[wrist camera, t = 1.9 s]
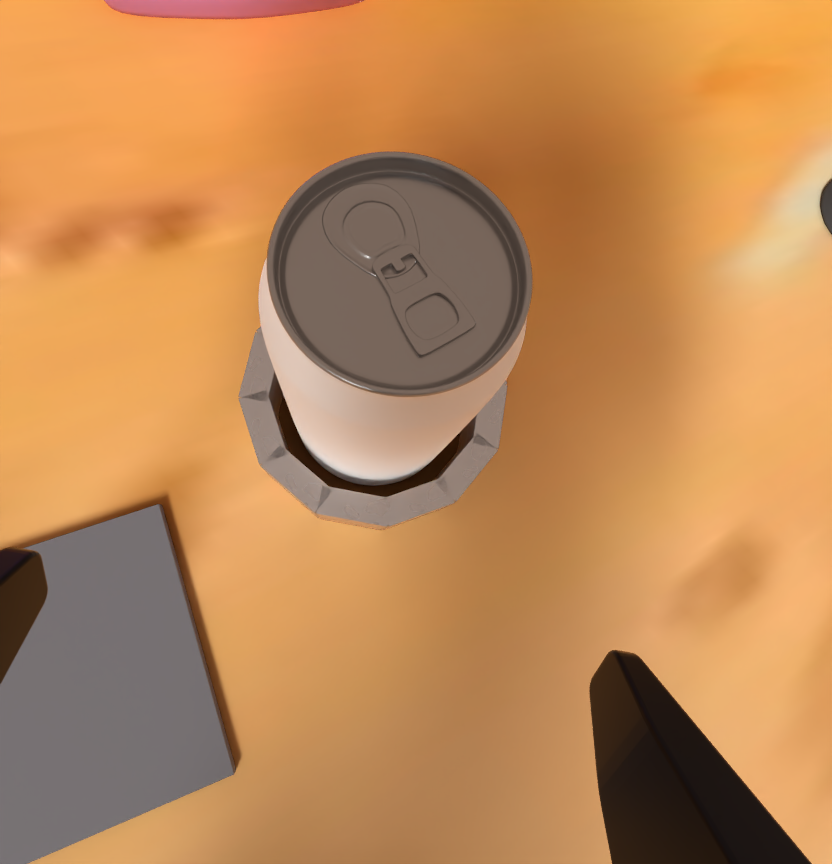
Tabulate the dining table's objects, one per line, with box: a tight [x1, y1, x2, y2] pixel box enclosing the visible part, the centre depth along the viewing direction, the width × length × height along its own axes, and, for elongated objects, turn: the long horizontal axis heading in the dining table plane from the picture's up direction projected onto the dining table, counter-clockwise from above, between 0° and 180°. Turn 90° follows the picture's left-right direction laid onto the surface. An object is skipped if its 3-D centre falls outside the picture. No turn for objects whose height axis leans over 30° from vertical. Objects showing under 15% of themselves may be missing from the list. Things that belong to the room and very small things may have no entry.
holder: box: [239, 327, 507, 530], centre depth 21 cm, size 10×10×3 cm
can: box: [259, 152, 532, 486], centre depth 17 cm, size 6×6×12 cm
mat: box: [0, 504, 236, 864], centre depth 19 cm, size 10×10×1 cm
